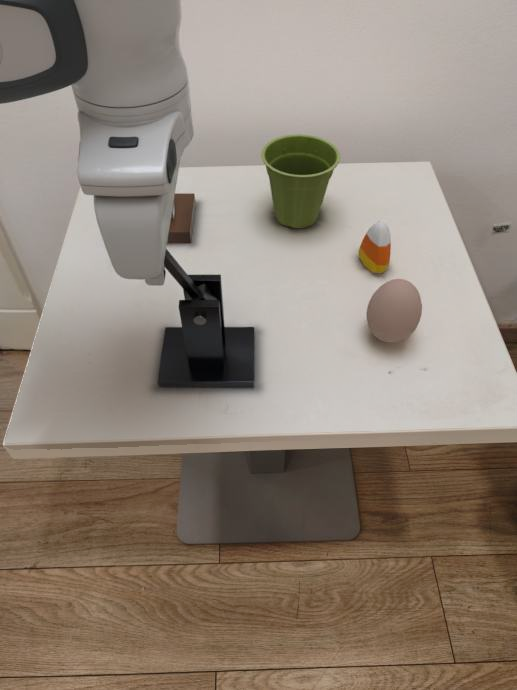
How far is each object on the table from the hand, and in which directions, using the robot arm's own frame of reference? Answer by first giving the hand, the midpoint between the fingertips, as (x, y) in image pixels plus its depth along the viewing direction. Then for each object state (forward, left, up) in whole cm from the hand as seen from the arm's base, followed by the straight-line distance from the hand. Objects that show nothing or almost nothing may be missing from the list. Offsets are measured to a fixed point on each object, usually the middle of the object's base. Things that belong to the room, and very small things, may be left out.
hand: (161, 247), depth 53 cm
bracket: (+3, 0, -19) cm, 19 cm away
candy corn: (+27, +18, -19) cm, 38 cm away
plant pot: (+16, +30, -19) cm, 39 cm away
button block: (-7, +28, -19) cm, 34 cm away
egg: (+27, +4, -19) cm, 34 cm away
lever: (0, 0, -4) cm, 4 cm away
